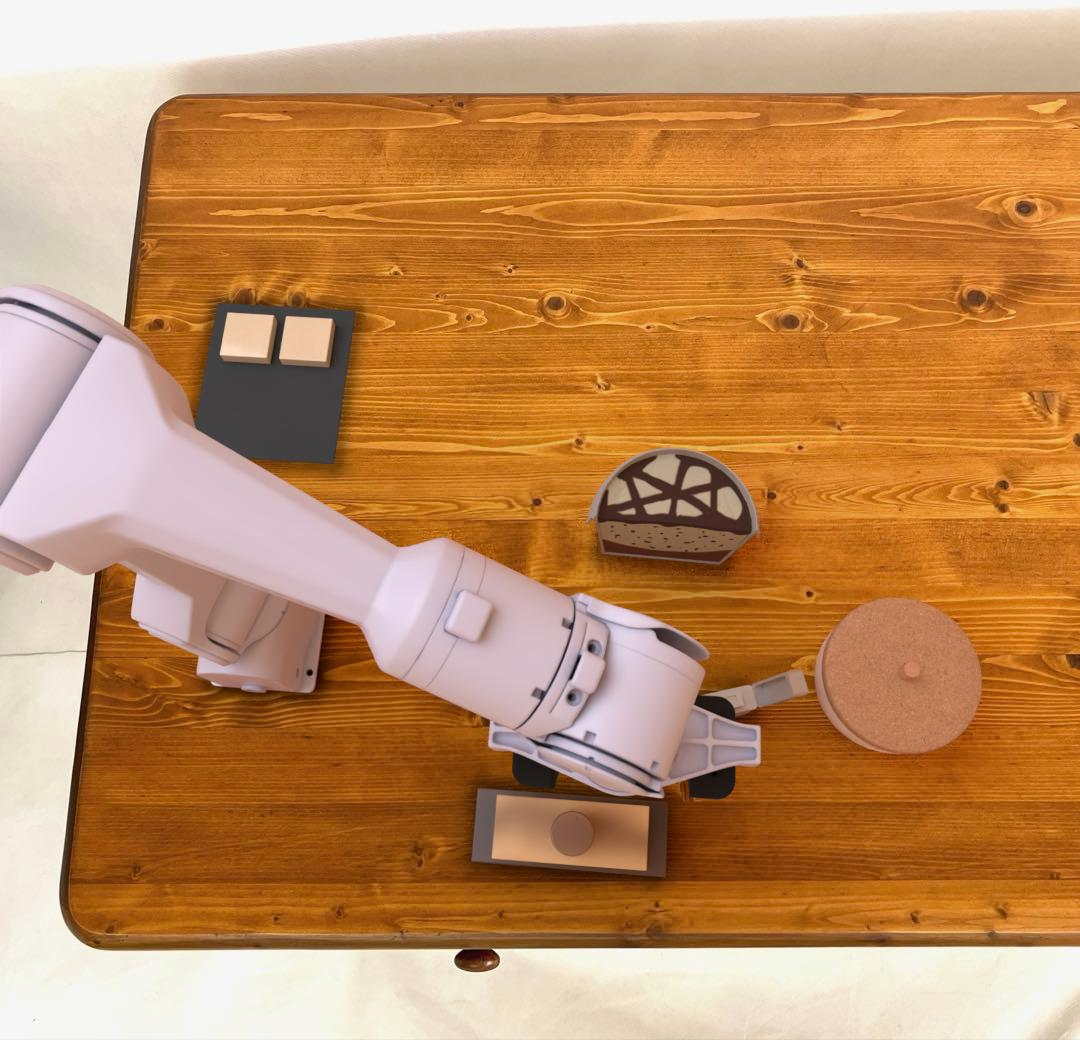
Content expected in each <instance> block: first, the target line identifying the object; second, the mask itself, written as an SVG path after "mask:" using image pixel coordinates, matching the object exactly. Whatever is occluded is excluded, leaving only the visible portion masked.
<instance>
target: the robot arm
mask: <svg viewBox="0 0 1080 1040" xmlns="http://www.w3.org/2000/svg"><path fill="white" fill-rule="evenodd" d="M55 563H57V564H58V565H61V566H62V567H65V568H66V569H68V570H70V571H72V572H74V573H76V574H78V575H81V576H92V575H93V574H95V573H98V572H100V571H102V570H105V569H106V568H107V569H108V568H109V567H111V566H114V565H116V564H120V565H121V566H123V567H125V568H127V569H128V570H130V571H132V572H134V573H136V574H135V575H136V577H135V583H134V590H133V595H132V602H131V611H130V617H131V619H132V620H134V621H136V622H137V624H138V627H139V628H140V629H143V630H145V631H147V632H148V634H149V635H150V636H152V637H155V638H157V639H159V640H162V641H164V642H166V643H169V644H171V645H173V646H175V647H177V648H180V649H182V650H185V651H187V652H189V653H191V654H193V655H196V656H198V659H197V664H196V665H197V666H196V676H197V677H199V678H201V679H203V680H207V681H209V682H210V683H211V685H213V686H214V687H221V688H234V689H235V688H236V689H241V690H242V691H245V692H249V693H250V692H251V693H261V694H262V693H263V694H264V693H267V691H274V692H289V693H290V692H291V693H301V694H302V693H304V694H310V693H312V692H314V690H315V689H316V684H317V676H318V669H319V662H320V654H321V647H322V641H323V634H324V626H325V619H326V615H328V616H331V617H333V618H337V619H339V620H341V621H344V622H347V623H350V624H353V625H355V626H357V627H359V629H360V630H361V632H362V634H363V635H364V636H363V637H364V638H365V640H366V642H367V645H368V647H369V649H370V651H371V654H372V656H373V659H374V661H375V663H376V665H377V667H378V669H380V670H381V672H383V673H386V674H387V675H390V676H392V677H394V678H396V679H398V680H400V681H402V682H405V683H406V684H409V685H411V686H414V687H416V688H418V689H420V690H422V691H424V692H427V693H429V694H431V695H434V696H435V697H438V698H440V699H442V700H445V701H447V702H449V703H450V704H453V705H455V706H458V707H460V708H462V709H465V710H467V711H469V712H472V713H473V714H476V715H478V716H480V717H482V718H484V719H486V720H489V728H488V729H489V730H488V741H487V747H488V748H489V749H491V750H492V751H495V752H512V760H511V761H512V763H511V773H512V775H513V778H514V779H515V781H516V782H517V783H518V784H519V785H521V786H523V787H526V788H540V789H555V787H556V785H557V780H558V777H559V775H560V773H561V774H562V775H565V776H567V777H569V778H572V779H574V780H575V781H578V782H580V783H583V784H584V785H587V786H589V787H591V788H594V789H596V790H597V791H600V792H602V793H605V794H608V795H612V796H617V797H632V796H642V797H649V798H655V799H664V798H665V791H664V787H667V786H668V787H669V786H670V785H674V784H677V783H681V782H684V781H686V782H687V789H688V798H689V799H702V800H703V799H704V800H716V801H717V800H724V799H726V798H727V797H729V796H730V795H731V794H732V793H733V791H734V790H735V786H736V781H737V779H736V775H737V774H736V773H737V772H736V770H737V769H736V767H738V766H740V767H749V768H756V767H758V766H759V765H760V764H761V762H762V760H761V759H762V757H761V756H762V751H761V749H762V748H761V745H762V744H761V742H762V741H761V739H762V738H761V737H762V735H761V733H762V728H761V725H756V724H749V723H748V724H747V723H741V722H737V721H736V717H735V709H734V707H733V705H732V704H731V702H730V701H728V700H727V699H725V698H723V697H720V696H707V695H705V694H699V692H700V689H701V686H702V684H703V682H704V681H703V680H704V678H705V675H706V670H705V668H704V667H703V666H702V665H701V664H700V663H699V662H697V661H705V660H708V659H709V658H710V656H711V654H710V652H709V650H708V648H706V647H705V646H704V644H702V643H701V642H699V641H698V640H696V639H695V638H693V637H692V636H690V635H688V634H686V633H685V632H683V631H681V630H679V629H677V628H675V627H673V626H672V625H671V624H668V623H666V622H664V621H662V620H659V619H657V618H654V617H652V616H650V615H647V614H645V613H641V612H638V611H635V610H632V609H628V608H624V607H621V606H618V605H615V604H611V603H608V602H606V601H603V600H601V599H598V598H597V597H594V596H591V595H588V594H586V593H583V592H580V593H575V594H572V595H566V594H564V593H562V592H560V591H557V590H555V589H553V588H551V587H550V586H548V585H545V584H544V583H541V582H539V581H537V580H535V579H533V578H531V577H530V576H527V575H525V574H522V573H521V572H518V571H517V570H515V569H512V568H511V567H508V566H506V565H504V564H502V563H500V562H498V561H496V560H494V559H491V558H490V557H487V556H486V555H484V554H482V553H480V552H477V551H475V550H474V549H472V548H469V547H467V546H465V545H463V544H461V543H459V542H457V541H455V540H452V539H451V538H449V537H443V536H441V537H436V538H432V539H429V540H426V541H423V542H419V543H415V544H411V545H407V546H397V545H396V544H394V543H391V542H390V541H389V540H387V539H386V538H383V537H381V536H380V535H378V534H376V533H375V532H373V531H372V530H370V529H368V528H367V527H365V526H363V525H361V524H359V523H358V522H356V521H354V520H353V519H351V518H349V517H347V516H345V515H343V514H342V513H341V512H339V511H337V510H335V509H334V508H332V507H330V506H328V505H327V504H325V503H323V501H320V500H318V499H317V498H314V497H313V496H312V495H310V494H308V493H306V492H304V491H303V490H301V489H299V488H298V487H297V486H294V485H293V484H291V483H289V482H287V481H286V480H284V479H283V478H281V477H279V476H277V475H275V474H273V472H270V471H269V470H267V469H265V468H264V467H262V466H260V465H259V464H256V463H255V462H253V461H252V460H251V459H246V458H245V457H243V456H241V455H239V454H238V453H236V452H234V451H233V450H231V449H229V448H227V447H226V446H224V445H222V444H221V443H219V442H217V441H215V440H214V439H212V438H210V437H209V436H207V435H205V434H204V433H202V432H200V431H198V430H197V429H196V427H195V419H194V416H193V413H192V410H191V405H190V401H189V397H188V395H187V393H186V392H185V390H184V388H183V387H182V385H181V384H180V382H178V380H177V379H175V377H174V376H173V375H171V374H170V373H169V371H167V370H166V369H165V368H164V367H163V366H161V365H160V363H158V362H157V361H156V358H155V355H154V353H153V351H152V349H151V348H150V347H149V346H148V344H147V343H145V342H144V341H143V340H142V339H141V338H140V337H139V336H138V335H136V334H135V333H134V332H133V331H132V330H130V329H129V328H127V327H126V326H125V325H123V324H122V323H120V322H119V321H117V320H115V319H114V318H113V317H111V316H110V315H108V314H106V313H105V312H103V311H101V310H100V309H98V308H96V307H94V306H92V305H91V304H89V303H87V302H85V301H83V300H81V299H79V298H76V297H75V296H72V295H70V294H68V293H65V292H63V291H61V290H58V289H56V288H52V287H49V286H46V285H43V284H38V283H37V284H35V283H29V284H23V285H20V284H19V285H18V284H12V285H7V286H4V287H2V288H0V566H2V567H4V568H6V569H8V570H11V571H13V572H16V573H18V574H21V575H22V576H25V577H29V576H33V575H35V574H39V573H40V572H43V573H47V572H50V571H51V570H52V568H53V566H54V564H55ZM309 671H311V672H312V674H311V675H308V672H309Z"/></svg>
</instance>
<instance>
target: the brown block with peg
mask: <svg viewBox="0 0 1080 1040" xmlns="http://www.w3.org/2000/svg"><path fill="white" fill-rule="evenodd" d="M648 828H649V806H641V805H628V804H615V803H602V802H589V801H576V800H563V799H550V798H537V797H523V796H510V795H497V799H496V811H495V823H494V835H493V847H492V859H501V860H514V861H527V862H540V863H552V864H565V865H578V866H590V867H603V868H616V869H628V870H641V871H646V870H647V853H648Z"/></svg>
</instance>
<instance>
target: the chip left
mask: <svg viewBox="0 0 1080 1040" xmlns="http://www.w3.org/2000/svg"><path fill="white" fill-rule="evenodd" d="M276 328H277V320H276V318H275V316H274V315H261V314H244V313H227V318H226V323H225V329H224V334H223V340H222V345H221V350H220V356H221V358H222V359H223V360H224V361H229V362H246V363H262V364H270V363H271V358H272V352H273V346H274V340H275V334H276Z"/></svg>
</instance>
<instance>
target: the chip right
mask: <svg viewBox="0 0 1080 1040" xmlns="http://www.w3.org/2000/svg"><path fill="white" fill-rule="evenodd" d="M334 332H335V323H334V321H333V319H327V318H310V317H293V316H286V320H285V326H284V332H283V338H282V344H281V350H280V356H279V359H280V361H281V363H282V364H283V365H297V366H313V367H329V365H330V359H331V352H332V345H333V339H334Z"/></svg>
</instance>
